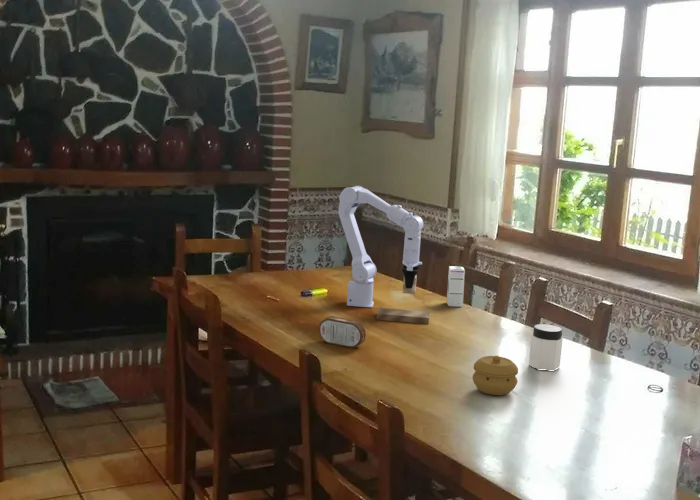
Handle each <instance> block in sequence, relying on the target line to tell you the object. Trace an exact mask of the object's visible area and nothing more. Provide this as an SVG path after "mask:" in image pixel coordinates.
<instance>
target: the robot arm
mask: <svg viewBox="0 0 700 500" xmlns="http://www.w3.org/2000/svg"><path fill="white" fill-rule="evenodd" d="M338 198H339V199H338V200H339V205H338V209H337V210H338V211H337V212H338V217H339V220H340V223H341V225H342V228H343V232H344V236H345V238H346V241H347V244H348V247H349V252H350V253H351V257H352V260H351V268H352V271H351V276H352V279H353V280H349V281H348V284H347V295H346V306H350V307H360V308H361V307H362V308H373V307H374V304H375V301H373V297H374V281H375V280H374V277H376V274H377V271H378V270H377V266H376V264H375V263H374V262H373V260H372V259H371V256H370V255H369V254H368V253H367V251H366V248H365V245H364V244H365V243H364V241H363V239H362V236H361V232H360V230H359V226H358V223H357V220H356V217H355V212H356V210H357V208H358V207H359V205H361V204H369V205H370V206H372V207H374V208H376V209H378V210H380V211H381V212H383V213H385V214H386V218H387V219H389V220H390V221H391V222H394V223H395V224H396V225H398V226H400V227H402V228H403V230H404V242H403V243H404V244H403V255H402V264H403V265H402V268H401V271H402V273H403V278H404V277H405V286H406V288H412V286H413V282H414V278H415V275H417V273H418V271H419V266H420V265H423V262H422V261H420V252H421V239H422V237H421V235H422V229H423V228H424V225H425V223H424V220H423V218H422V217H420V215H417V214H416V215H415V214H414V213H413V212H411V211H410V212H409V211H407V210H405V209H404V208H403V206H402V205H401V204H393V205H391V204H389V203H388V202H386V201H385V200H384V199H382V198H380V197H379V196H377V195H376V194H375V193H373V192H372V191H370V190H369V189H367V188H364V187H363V186H361V185H355V186H352V187H351V186H350V187H349V186H348V187H345V188H343V190H342V191H341V193H340V194H339V196H338Z"/></svg>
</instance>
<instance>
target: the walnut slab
mask: <svg viewBox="0 0 700 500" xmlns="http://www.w3.org/2000/svg"><path fill="white" fill-rule="evenodd" d="M376 320H377V321H389V322H399V323H400V322H401V323H413V324H424V325H429V321H430V311H422V310H411V309H410V310H409V309H399V308H387V307H379V308H378V309H377V312H376Z"/></svg>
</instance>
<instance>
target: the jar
mask: <svg viewBox="0 0 700 500" xmlns="http://www.w3.org/2000/svg"><path fill="white" fill-rule="evenodd" d="M532 333H533V334H532V335H531V338H530V339H531V340H530V347H529V358H528V366H529V365H531V366H533V367H535V368H537V369H546V370H555V369H556V368H558V367H559V366H560V365H561V358H562V357H561V355H562V346H563V339H564V338H563V329H562V327H559V326H557V325H554V324H553V325H552V324H548V323H547V324H543V323H540V324H539V323H538V324H535V325H534V326H533V332H532ZM559 368H560V367H559ZM559 368H558V369H559Z"/></svg>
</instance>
